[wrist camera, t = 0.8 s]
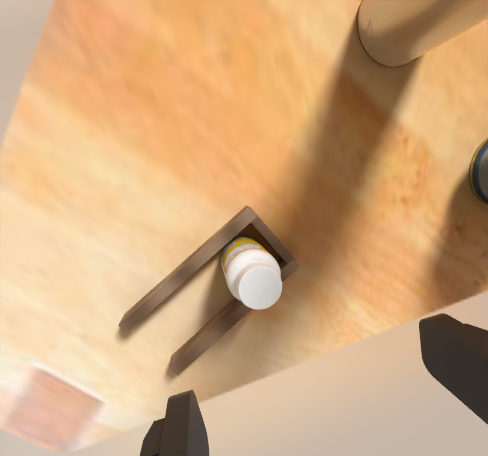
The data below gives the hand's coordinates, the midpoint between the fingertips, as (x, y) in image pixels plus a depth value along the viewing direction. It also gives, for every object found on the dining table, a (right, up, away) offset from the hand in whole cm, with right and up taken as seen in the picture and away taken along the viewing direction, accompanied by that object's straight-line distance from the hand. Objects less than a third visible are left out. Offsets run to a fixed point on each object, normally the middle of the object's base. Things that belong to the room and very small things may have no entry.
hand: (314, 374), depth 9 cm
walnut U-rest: (-6, -2, +24) cm, 25 cm away
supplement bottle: (-3, +1, +24) cm, 24 cm away
